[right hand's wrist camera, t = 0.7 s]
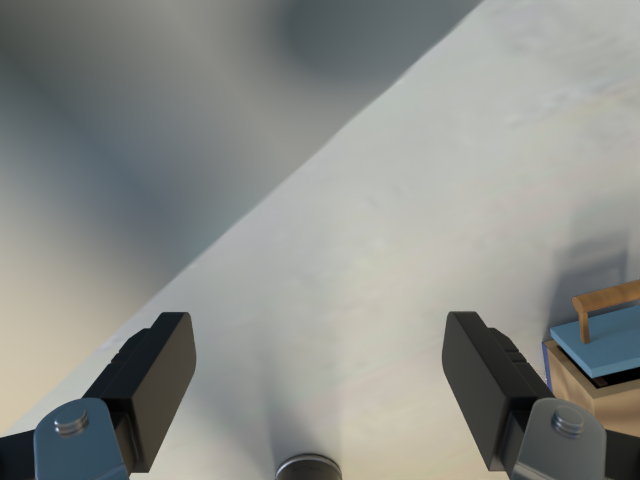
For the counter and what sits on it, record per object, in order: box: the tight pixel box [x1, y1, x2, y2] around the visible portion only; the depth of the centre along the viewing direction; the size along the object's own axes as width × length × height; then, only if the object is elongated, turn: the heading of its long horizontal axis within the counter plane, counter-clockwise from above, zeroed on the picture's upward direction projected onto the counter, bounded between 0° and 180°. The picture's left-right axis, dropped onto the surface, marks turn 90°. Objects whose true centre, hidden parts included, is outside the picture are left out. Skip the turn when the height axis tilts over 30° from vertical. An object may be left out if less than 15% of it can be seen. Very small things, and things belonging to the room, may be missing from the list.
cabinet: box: [542, 340, 640, 437], centre depth 43 cm, size 16×11×9 cm
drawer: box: [550, 279, 640, 389], centre depth 41 cm, size 21×10×7 cm, turn 18°
